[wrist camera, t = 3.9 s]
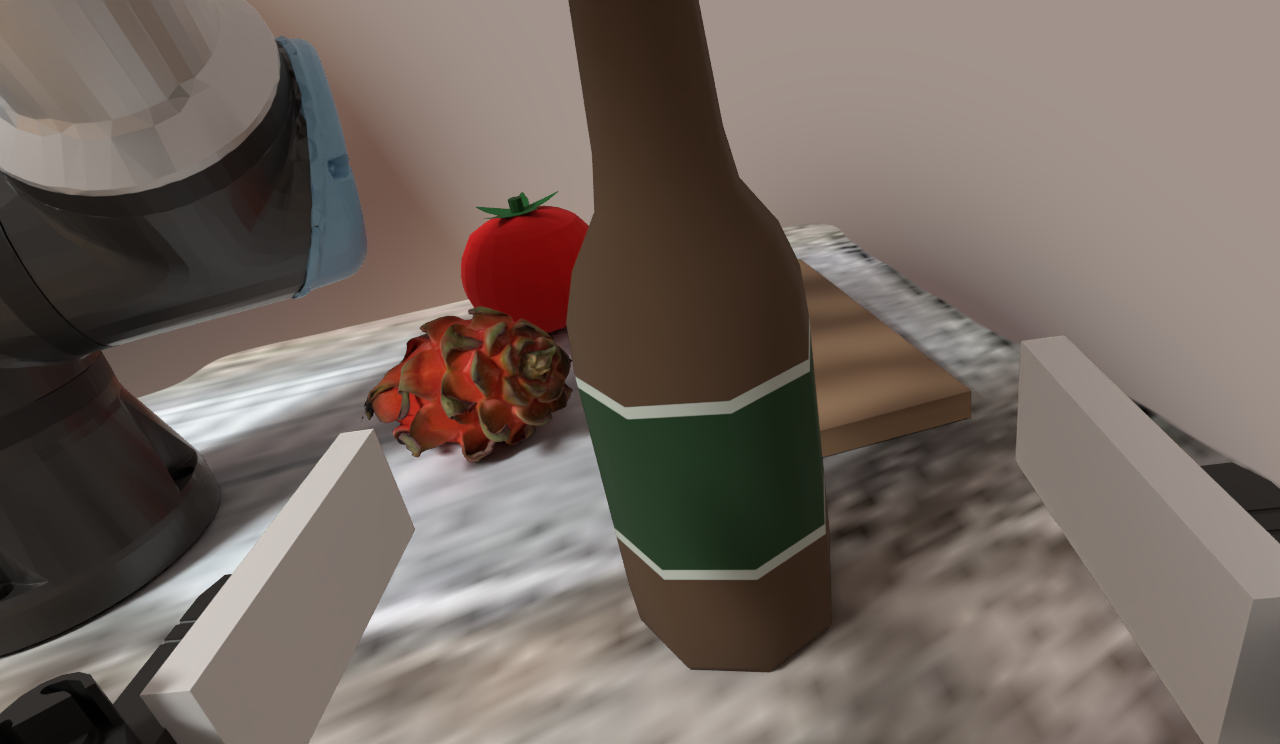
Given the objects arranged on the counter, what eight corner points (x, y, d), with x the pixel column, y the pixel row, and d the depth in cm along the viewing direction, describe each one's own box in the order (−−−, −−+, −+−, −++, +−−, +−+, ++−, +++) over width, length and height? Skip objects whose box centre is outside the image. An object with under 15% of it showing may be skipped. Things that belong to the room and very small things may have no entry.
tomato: (578, 360, 51) (541, 217, 46) (454, 358, 55) (410, 227, 51) (637, 297, 59) (611, 171, 54) (525, 299, 63) (493, 183, 59)
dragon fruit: (608, 452, 43) (419, 508, 45) (584, 327, 47) (411, 383, 48) (554, 395, 35) (330, 465, 37) (531, 252, 39) (329, 322, 41)
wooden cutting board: (970, 417, 36) (971, 390, 36) (694, 492, 35) (689, 465, 35) (802, 278, 56) (800, 259, 55) (620, 323, 55) (616, 304, 54)
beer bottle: (796, 513, 33) (719, -137, 22) (880, 646, 26) (829, -209, 15) (623, 562, 32) (456, -84, 21) (661, 712, 25) (443, -133, 14)
